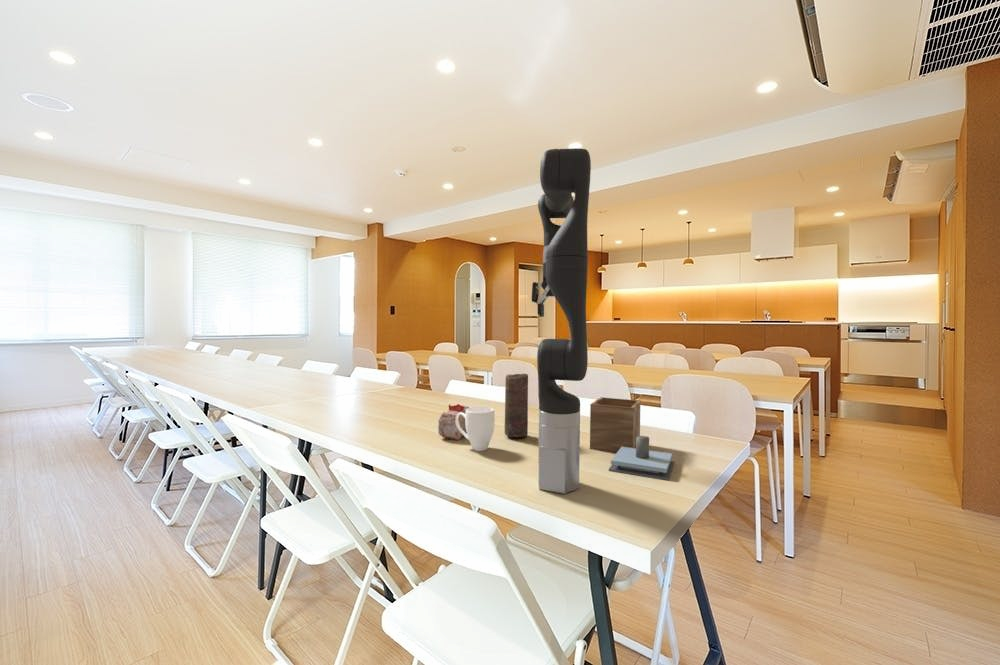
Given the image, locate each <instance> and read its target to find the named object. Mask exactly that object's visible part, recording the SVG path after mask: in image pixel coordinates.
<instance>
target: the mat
mask: <svg viewBox="0 0 1000 665" xmlns="http://www.w3.org/2000/svg"><path fill="white" fill-rule="evenodd" d="M674 465H675V460H671V461H670V464H669V467H668V470H667V473H663V472H659V474H658V473H651V472H645V471H639V470H633V469H626V468H620V466H618V465H612V464H611V466H610V467H608V471H610V472H616V473H621V474H626V475H627V474H628V475H633V476H639V477H645V478H650V479H657V480H664V481H669V480H670V478H671V475H672V472H673V469H674Z"/></svg>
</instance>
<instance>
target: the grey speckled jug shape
mask: <svg viewBox="0 0 1000 665" xmlns="http://www.w3.org/2000/svg"><path fill="white" fill-rule="evenodd" d="M468 408H470V407H469V406H466V405H460V404H459V403H458V404H454V405H451V404H448V411H444V412H442V413H441V415H440V417H439V419H438V421H437V422H438V426H437V428H438V432H437V433H438V435H439V437H442V439H443V438H444V439H447V440H454V441H455V440H456V441H459V440H460V439H461V438H462V437H464V435H463V434H462V433H461V432H460V431H459V430H458V428H457V426H456V423H455V419H456V416H457V414H458V413H460V412H462V413H464V414H466V409H468ZM458 421H459V425H460V427H461V428H462V430H463V431H464V432H465V433H466V434H467V431H466V425H465V418H464V417H463V416H462V415H459V418H458Z"/></svg>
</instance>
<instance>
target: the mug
mask: <svg viewBox="0 0 1000 665" xmlns="http://www.w3.org/2000/svg"><path fill="white" fill-rule="evenodd" d="M459 415H462V416H463V417H464V418H465V425H466V431H467V433H465V432H464V431H463V430H462V428H461V427H460V425H459V421H458V418H459ZM455 423H456V426H457V428H458V430H459V431H460V432H461V433H462V434H463V437H465V439H467V440H468V441H469V444H470V445H471V449H472V450H473V451H475V452H483V451H486V450H488V448H489V445H490V443H491V440H492V437H493V434H494V431H495V408H493V407H489V406H472V407H469V408H468V409H466V414H464V413H462V412H460V413H458V414H457V416H456V419H455Z"/></svg>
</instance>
